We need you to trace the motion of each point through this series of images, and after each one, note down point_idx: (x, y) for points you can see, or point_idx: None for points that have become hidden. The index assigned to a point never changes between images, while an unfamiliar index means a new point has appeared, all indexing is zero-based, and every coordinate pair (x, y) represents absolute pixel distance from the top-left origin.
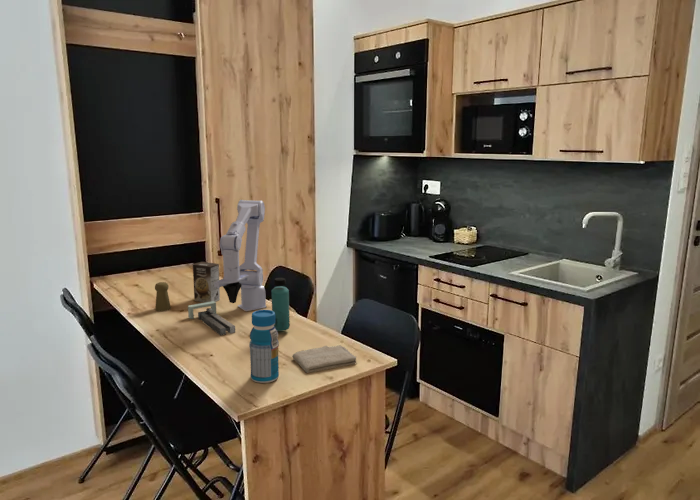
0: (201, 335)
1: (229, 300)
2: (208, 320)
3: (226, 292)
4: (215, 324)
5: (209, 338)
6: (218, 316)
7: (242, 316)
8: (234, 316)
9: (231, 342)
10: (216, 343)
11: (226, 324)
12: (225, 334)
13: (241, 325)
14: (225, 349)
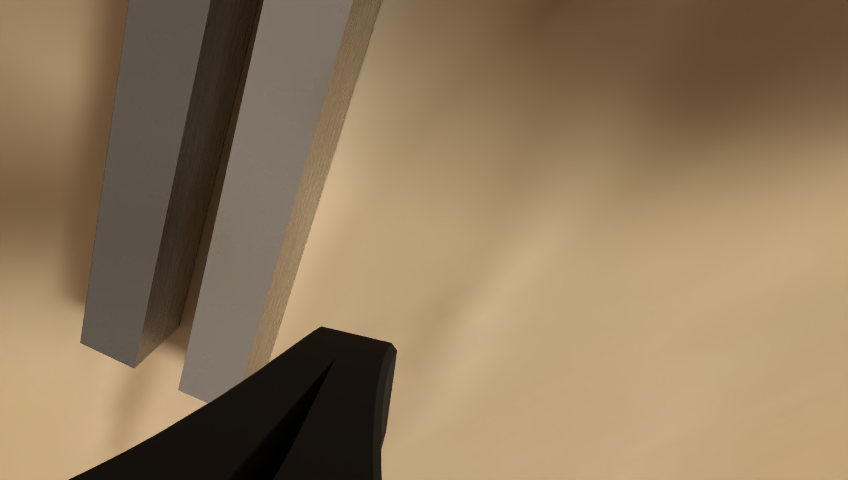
0: (5, 146)
1: (295, 353)
2: (129, 19)
3: (95, 474)
4: (110, 218)
5: (30, 260)
6: (319, 28)
7: (740, 133)
8: (689, 24)
9: (118, 446)
10: (26, 368)
11: (197, 321)
12: (174, 325)
13: (442, 316)
14: (26, 470)
